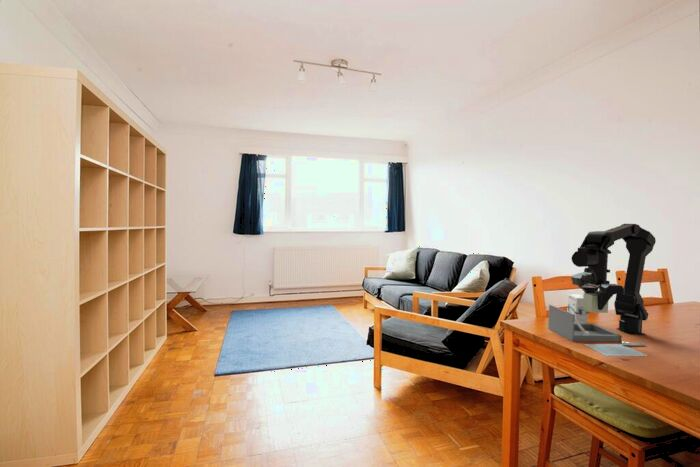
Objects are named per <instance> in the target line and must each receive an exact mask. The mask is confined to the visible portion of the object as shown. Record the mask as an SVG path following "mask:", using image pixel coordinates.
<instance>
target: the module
mask: <svg viewBox="0 0 700 467" xmlns="http://www.w3.org/2000/svg"><path fill="white" fill-rule="evenodd" d="M583 310H586V311H588V313H592V314H593V313H595V314H596V313H598V314H600V313H601V314H603V313H604V314H606V313H607V314H608V313H609V301H608V302H607V303H606V305H605V306H604V308H603V309H602V310H599V309H598V296H597V294H596V293H587V294H585V293H584V292H583Z"/></svg>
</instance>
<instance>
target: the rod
mask: <svg viewBox="0 0 700 467" xmlns="http://www.w3.org/2000/svg"><path fill="white" fill-rule="evenodd" d="M620 344H621V345H623V346H627V347H647V344H646V343H644V342H631V341H621V342H620Z"/></svg>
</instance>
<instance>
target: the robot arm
mask: <svg viewBox="0 0 700 467" xmlns="http://www.w3.org/2000/svg"><path fill="white" fill-rule="evenodd" d="M621 239H622V240H623V242H625V248H626V250H627V252H628V254H629V255H628V256H629V257H628V262H627V267H626V274H625V280H624V285H620V284H616V283H611V281H610V280H607V277H608V273H611V269H608V260H609V255H610V254H612V252H611V250H610V249H609V248H611V247H612V246H613V245H615V242H617V241H618V240H621ZM655 244H656V238H655V236H654V235H653V233H651V231H649V230H648V229H647V230H646V229H645V228H643V227H641V226H640V225H639V224H636V223H623V224H621V225H619V226H615V227H613V228H610V229H606V230H601V231H600V230H598V231H589V232H588V233H587V235H585V237H584V239H583V240H582V243H581V245H580V246H579V247H577V251H575V252H574V253H573V254H572V256H571V262H572V263H573V265H574V266H576V267H579V268H581V267H582V268H583V267H584V269H583V272H579V273H575V274H573V275H571V276H570V279H571V282H572V284H573V285H574V286H577V287H578V288H579V289H581V290H582V291H583V294H584V293H585V294H587V293H596V294H597V296H598V309H599V310H602V309H603V308H604V306H605V305H606V303H607V302H608V303H609V300H611V298H613V296H614V295H615V300H614V302H613V304H614V311H615V315H616V316H619V317H620V318H619V320H618V322H619V323H618V328H617V327H616V329H615V330H618V331H620V332H623V333H625V334H628V335H638V336H646V333H644V332H643V321H647V320H648V319H649V313H648V312H647V309H646V308H645V306H644V302H645V301H644V299H643V296H642V295H641V294H640V291H641V286H642V280H643V275H644V274H643V273H644V268H645V263H646V258H647V256H648V255H649V254H651V252H653V249H654V246H655Z"/></svg>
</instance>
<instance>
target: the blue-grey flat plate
mask: <svg viewBox="0 0 700 467" xmlns="http://www.w3.org/2000/svg"><path fill="white" fill-rule="evenodd" d="M583 345H584V346H586V347H587V348H589V349H592V350H594V351H596V352H597V353H599V354H602V355H604V356H606V357H648V355H647V354H646V353H643V352H640V351H638V350H636V349H634V348H632V347H630V346H623V345H621V343H620V344H615V343H613V344H612V343H611V344H606V343H603V344H601V343H599V344H598V343H597V344H595V343H594V344H593V343H592V344H591V343H585V344H583Z"/></svg>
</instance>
